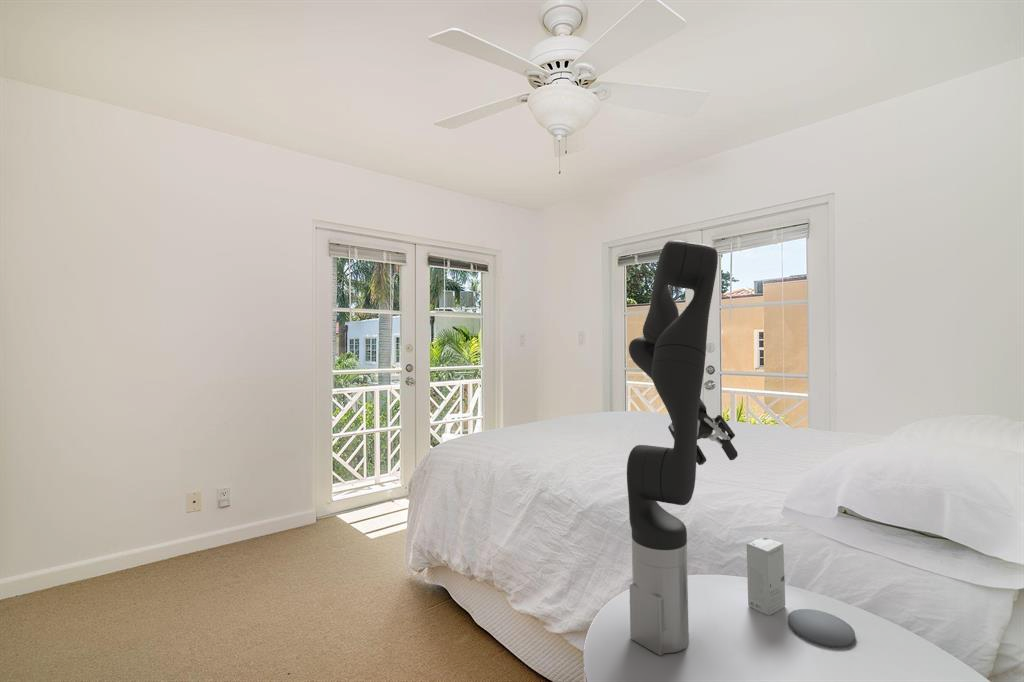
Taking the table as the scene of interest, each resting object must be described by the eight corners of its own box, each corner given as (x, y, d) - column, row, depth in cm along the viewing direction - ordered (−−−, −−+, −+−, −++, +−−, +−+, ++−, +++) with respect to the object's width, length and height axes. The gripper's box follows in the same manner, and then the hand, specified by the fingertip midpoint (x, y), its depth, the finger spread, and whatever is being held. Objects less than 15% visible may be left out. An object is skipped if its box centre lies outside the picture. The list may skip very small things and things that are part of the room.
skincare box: (769, 616, 90) (768, 552, 90) (746, 606, 94) (745, 543, 94) (786, 606, 94) (785, 543, 93) (763, 595, 97) (762, 535, 97)
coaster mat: (843, 655, 79) (842, 650, 79) (778, 627, 87) (778, 623, 87) (863, 631, 85) (863, 626, 85) (801, 607, 93) (801, 602, 93)
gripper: (664, 392, 109) (701, 455, 99) (713, 388, 114) (754, 447, 104) (649, 412, 114) (683, 473, 104) (698, 407, 119) (735, 465, 109)
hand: (719, 460), depth 104 cm, fingers open, 8 cm apart
